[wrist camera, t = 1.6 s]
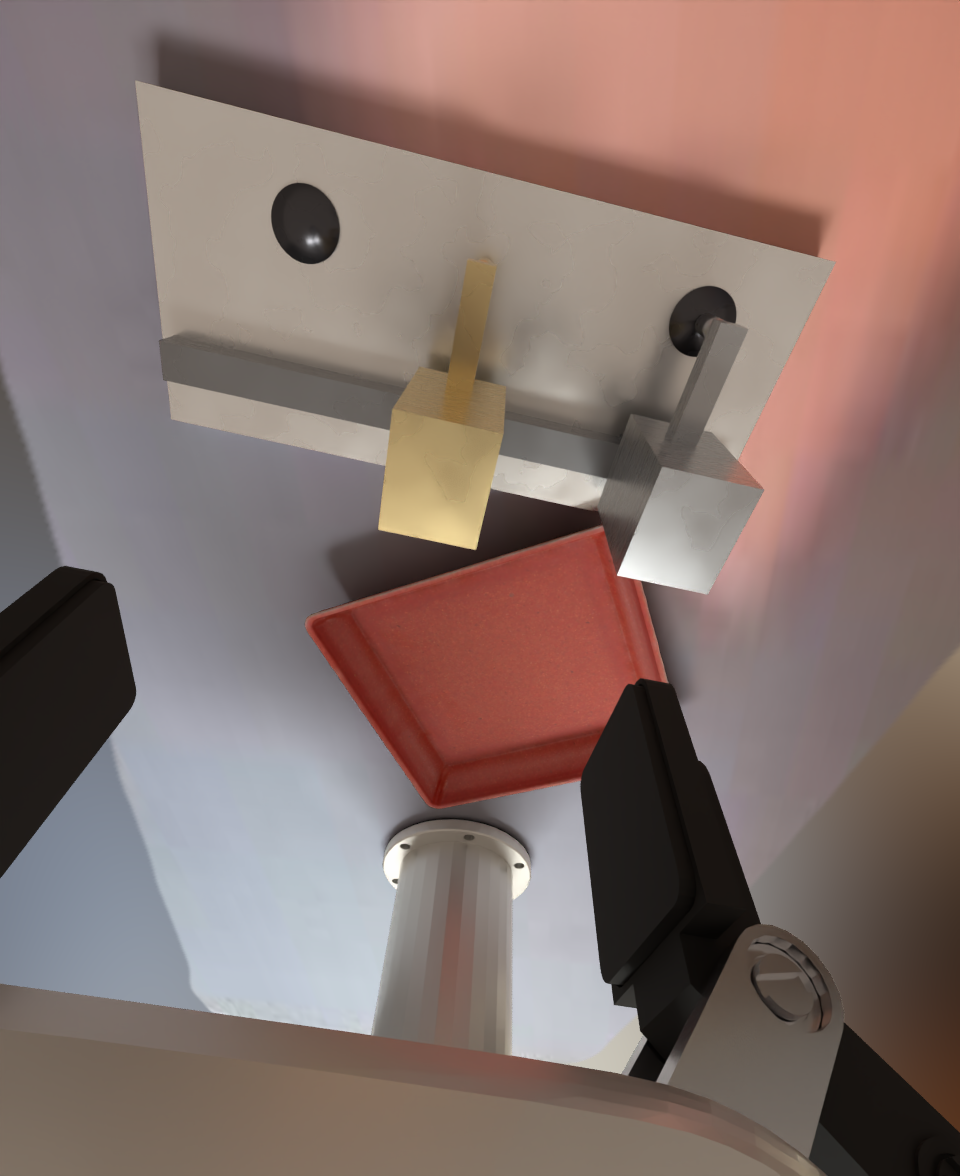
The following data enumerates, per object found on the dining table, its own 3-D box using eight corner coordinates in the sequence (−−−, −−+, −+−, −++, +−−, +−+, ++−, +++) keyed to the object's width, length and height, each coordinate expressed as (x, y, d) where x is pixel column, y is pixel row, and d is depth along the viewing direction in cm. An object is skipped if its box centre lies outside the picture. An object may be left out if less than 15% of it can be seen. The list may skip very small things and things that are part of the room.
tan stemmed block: (484, 475, 26) (475, 550, 20) (409, 458, 26) (378, 529, 20) (531, 269, 21) (537, 288, 15) (439, 246, 21) (410, 257, 15)
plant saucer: (615, 491, 29) (625, 520, 26) (678, 722, 38) (690, 762, 35) (315, 586, 33) (296, 620, 30) (436, 773, 42) (430, 812, 39)
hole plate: (692, 520, 29) (752, 621, 22) (187, 410, 27) (67, 480, 20) (817, 259, 22) (963, 279, 15) (158, 88, 20) (-38, 18, 13)
